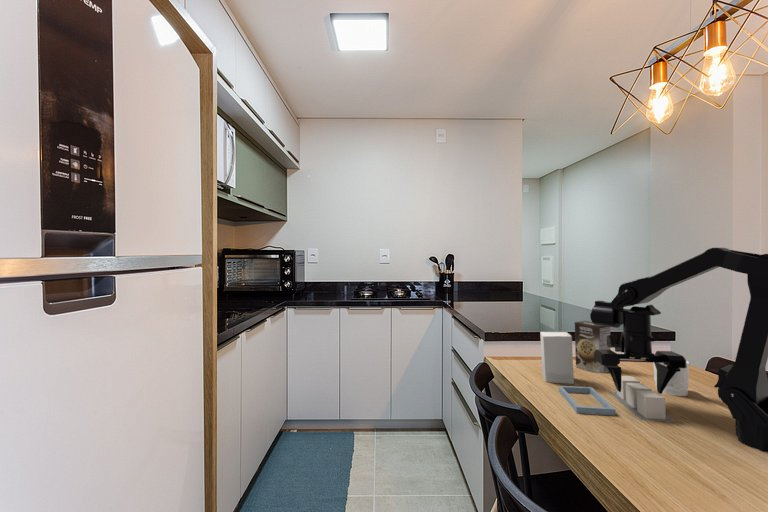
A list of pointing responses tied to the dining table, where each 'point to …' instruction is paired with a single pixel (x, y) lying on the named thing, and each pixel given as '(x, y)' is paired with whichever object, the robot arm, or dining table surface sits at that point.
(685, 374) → the white cup
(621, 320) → the robot arm
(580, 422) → the dining table surface
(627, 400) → the stone
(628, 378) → the stone
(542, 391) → the dining table surface
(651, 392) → the stone
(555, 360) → the skincare box
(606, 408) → the blue bin
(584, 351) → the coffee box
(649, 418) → the slate board
